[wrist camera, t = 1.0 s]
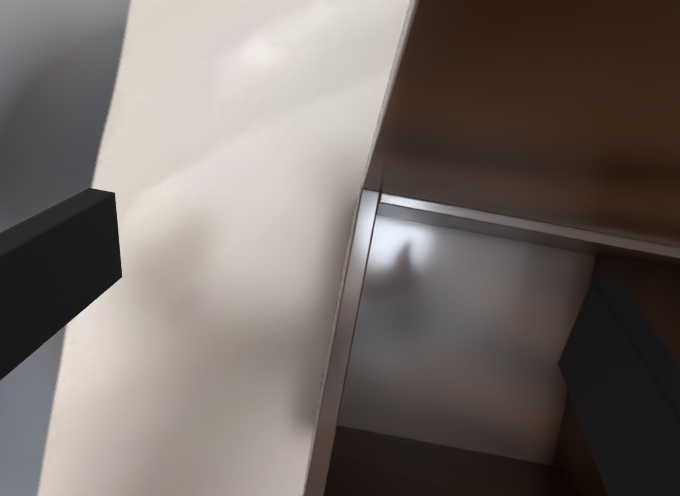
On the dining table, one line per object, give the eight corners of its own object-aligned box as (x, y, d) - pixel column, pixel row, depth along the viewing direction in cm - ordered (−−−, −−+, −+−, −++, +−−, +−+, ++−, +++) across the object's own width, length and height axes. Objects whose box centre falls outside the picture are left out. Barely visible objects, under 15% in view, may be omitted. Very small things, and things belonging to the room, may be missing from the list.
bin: (556, 473, 33) (692, 631, 20) (313, 427, 33) (292, 556, 20) (604, 244, 32) (776, 256, 19) (356, 198, 32) (363, 178, 19)
